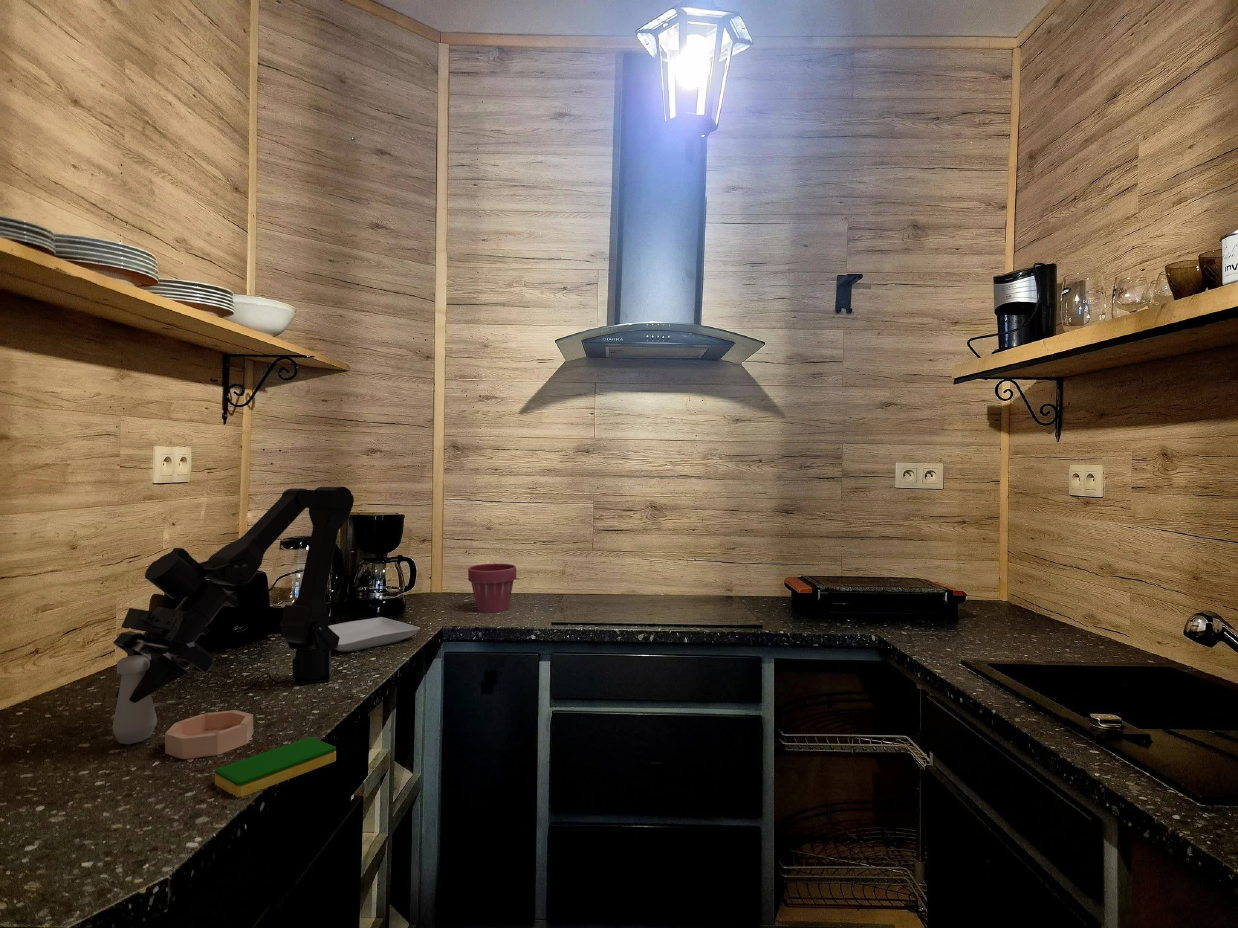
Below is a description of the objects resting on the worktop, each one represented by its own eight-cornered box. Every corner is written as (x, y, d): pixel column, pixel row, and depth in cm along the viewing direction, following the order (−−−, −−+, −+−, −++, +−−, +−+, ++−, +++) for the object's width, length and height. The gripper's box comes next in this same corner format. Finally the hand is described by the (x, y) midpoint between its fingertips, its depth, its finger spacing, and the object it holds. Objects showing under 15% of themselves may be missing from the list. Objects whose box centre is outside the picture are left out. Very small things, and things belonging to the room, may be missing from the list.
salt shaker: (150, 728, 113) (148, 649, 113) (162, 737, 109) (161, 655, 109) (107, 740, 108) (105, 658, 108) (118, 749, 105) (116, 664, 105)
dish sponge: (337, 763, 100) (337, 746, 100) (238, 801, 89) (238, 782, 89) (311, 751, 105) (310, 735, 105) (213, 786, 93) (213, 768, 93)
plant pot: (504, 615, 196) (503, 570, 196) (459, 613, 200) (459, 569, 200) (524, 605, 210) (523, 563, 210) (482, 603, 214) (481, 562, 214)
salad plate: (300, 643, 170) (300, 629, 170) (381, 627, 185) (381, 615, 185) (336, 659, 155) (336, 643, 155) (422, 641, 170) (422, 627, 170)
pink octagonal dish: (257, 725, 114) (257, 707, 114) (241, 752, 104) (241, 732, 104) (181, 734, 111) (181, 715, 111) (157, 762, 100) (157, 741, 100)
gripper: (124, 583, 116) (49, 666, 107) (193, 591, 108) (118, 682, 98) (173, 619, 124) (106, 701, 114) (241, 629, 115) (175, 718, 105)
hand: (124, 699), depth 108 cm, fingers closed on salt shaker, 3 cm apart
